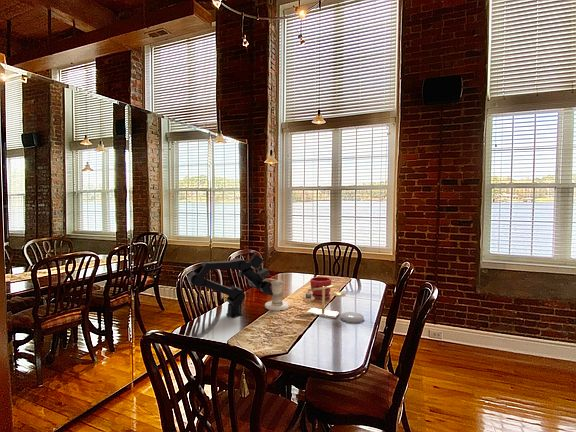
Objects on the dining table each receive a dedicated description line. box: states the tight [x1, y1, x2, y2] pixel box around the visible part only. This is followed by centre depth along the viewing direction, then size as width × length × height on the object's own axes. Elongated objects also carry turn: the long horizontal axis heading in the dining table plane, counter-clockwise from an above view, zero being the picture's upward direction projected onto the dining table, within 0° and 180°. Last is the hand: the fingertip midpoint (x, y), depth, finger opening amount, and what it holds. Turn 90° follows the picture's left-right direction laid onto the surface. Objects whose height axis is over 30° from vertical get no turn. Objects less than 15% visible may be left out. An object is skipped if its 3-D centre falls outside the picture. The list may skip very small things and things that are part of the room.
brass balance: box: [301, 284, 347, 319], centre depth 191 cm, size 24×7×17 cm, turn 66°
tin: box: [263, 277, 280, 290], centre depth 234 cm, size 15×3×8 cm, turn 62°
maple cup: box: [271, 280, 284, 306], centre depth 202 cm, size 7×7×13 cm
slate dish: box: [340, 311, 364, 324], centre depth 185 cm, size 12×12×2 cm
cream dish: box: [264, 300, 290, 312], centre depth 202 cm, size 14×14×2 cm
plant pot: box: [310, 276, 332, 300], centre depth 222 cm, size 13×13×12 cm
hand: (268, 292), depth 199 cm, fingers open, 9 cm apart
